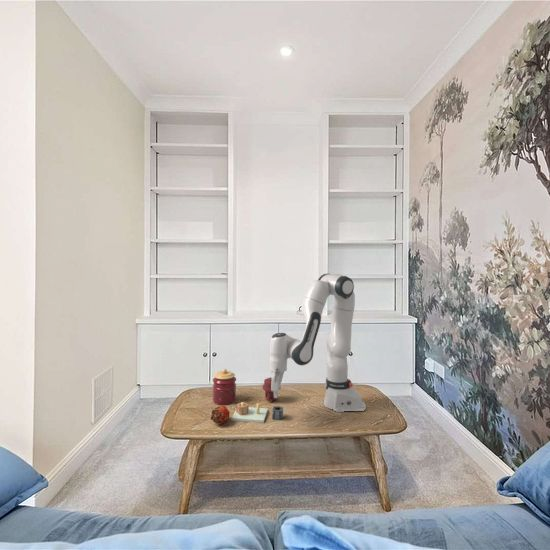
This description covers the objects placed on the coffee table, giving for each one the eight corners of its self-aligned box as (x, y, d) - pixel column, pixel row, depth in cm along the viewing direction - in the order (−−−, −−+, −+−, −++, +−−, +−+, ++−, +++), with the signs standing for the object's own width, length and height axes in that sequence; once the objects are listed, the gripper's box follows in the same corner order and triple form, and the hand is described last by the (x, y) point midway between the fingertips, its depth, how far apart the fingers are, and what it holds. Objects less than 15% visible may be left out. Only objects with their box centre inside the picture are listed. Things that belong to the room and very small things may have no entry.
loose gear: (283, 415, 164) (283, 406, 164) (282, 420, 159) (282, 411, 159) (273, 414, 165) (273, 406, 165) (272, 419, 160) (272, 410, 160)
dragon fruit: (216, 432, 150) (220, 423, 162) (231, 421, 151) (234, 412, 163) (206, 416, 151) (210, 409, 163) (221, 405, 152) (224, 398, 164)
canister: (208, 403, 178) (208, 371, 177) (219, 394, 190) (219, 364, 189) (229, 406, 174) (229, 374, 173) (239, 397, 186) (240, 366, 185)
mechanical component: (280, 396, 187) (280, 404, 177) (263, 396, 187) (262, 403, 177) (280, 375, 187) (280, 382, 177) (263, 375, 187) (262, 381, 177)
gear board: (267, 410, 169) (267, 399, 169) (263, 422, 156) (263, 410, 156) (237, 408, 171) (237, 396, 171) (231, 420, 159) (231, 407, 158)
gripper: (282, 373, 150) (280, 403, 151) (286, 360, 170) (285, 386, 171) (268, 372, 151) (267, 401, 151) (274, 359, 171) (273, 385, 172)
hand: (276, 393), depth 161 cm, fingers open, 8 cm apart
